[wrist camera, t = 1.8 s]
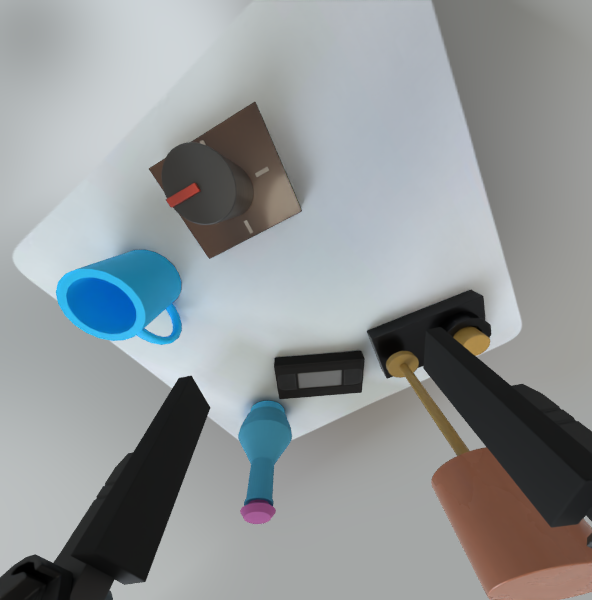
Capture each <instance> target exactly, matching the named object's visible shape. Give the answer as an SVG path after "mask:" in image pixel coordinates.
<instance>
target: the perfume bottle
mask: <svg viewBox="0 0 592 600" xmlns="http://www.w3.org/2000/svg"><path fill="white" fill-rule="evenodd" d="M238 438H239V441H240V443H241V445H242V447H243V449H244V451H245V453H246V455H247V457H248V459H249V461H250V463H251V470H250V476H249V484H248V491H247V498H246V500H245V502H244V507H242V509H241V511H240V512H241V514H242V516H243V518H244V519H245V521H247V522H249V523H253V524H261V523H265V522H268V521H269V520H270V519H271V518H272V516H273V515H274V514H275V511H276V510H275V508H274V507H273V499H272V493H273V475H274V474H273V473H274V464H275V463H276V461H277V460H278V458H279V457H280V456H281V454H282V453H283V452H284V450H285V449H286V448H287V446H288V445H289V443H290V441H291V439H292V434H291V428H290V424H289V422H288V420H287V417H286V415H285V410H284V408H283V407H282V405H280V404H279V403H277V402H274V401H261V402H258V403H256V404H255V405H253V407H252V408H251V411H250V413H249V414H248V415H247V418H246V419H245V421H244V422H243V424H242V426H241V428H240V431H239V437H238Z"/></svg>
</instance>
